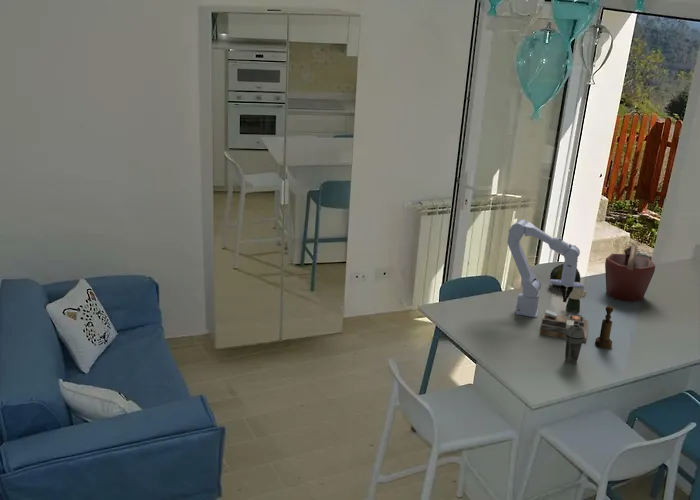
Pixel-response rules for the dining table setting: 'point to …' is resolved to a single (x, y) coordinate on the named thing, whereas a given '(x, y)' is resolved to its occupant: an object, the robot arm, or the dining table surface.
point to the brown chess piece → (605, 330)
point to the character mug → (575, 299)
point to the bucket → (628, 275)
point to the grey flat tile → (551, 313)
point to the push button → (575, 318)
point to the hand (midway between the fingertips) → (564, 301)
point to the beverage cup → (573, 343)
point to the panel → (560, 326)
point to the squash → (557, 275)
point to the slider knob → (569, 323)
